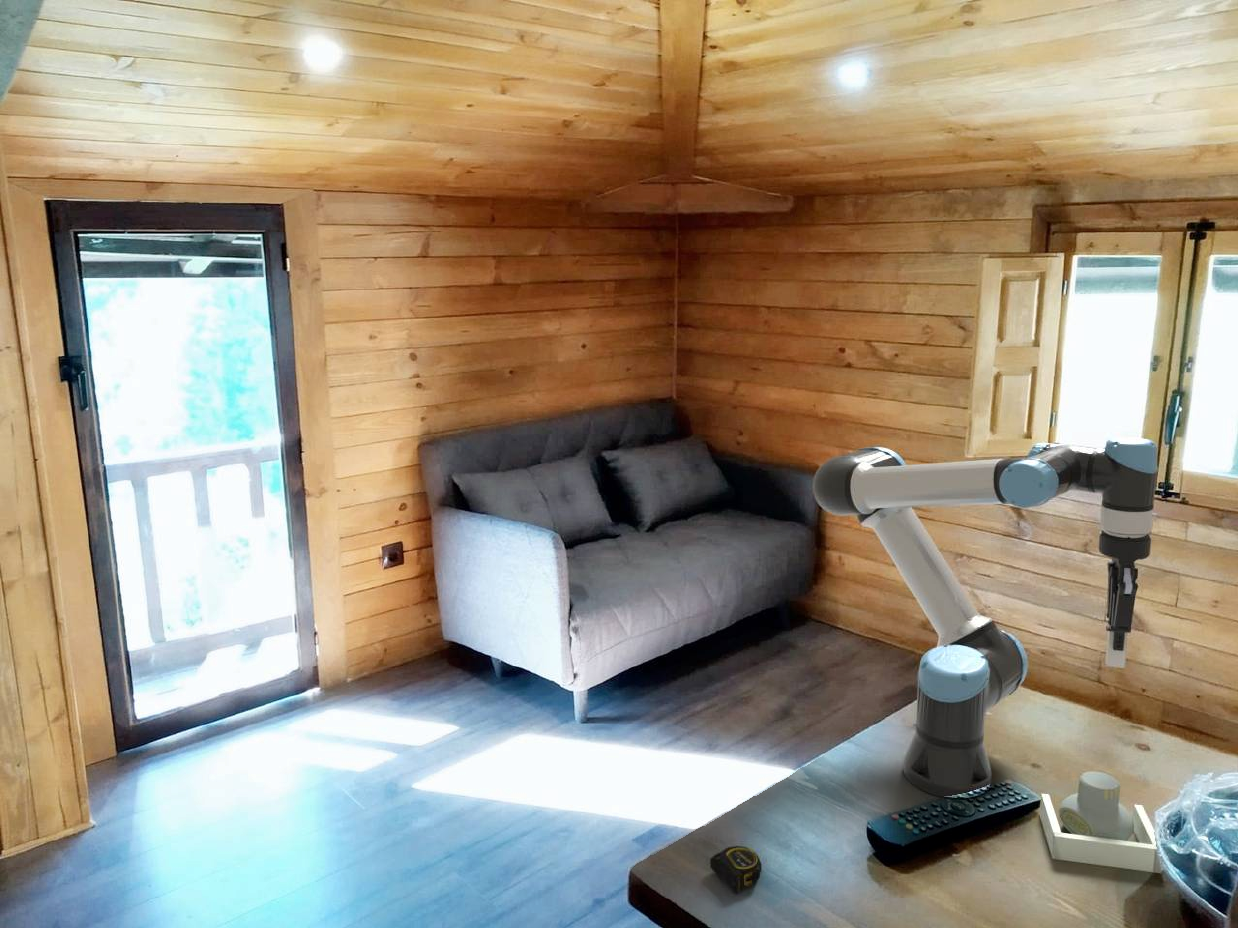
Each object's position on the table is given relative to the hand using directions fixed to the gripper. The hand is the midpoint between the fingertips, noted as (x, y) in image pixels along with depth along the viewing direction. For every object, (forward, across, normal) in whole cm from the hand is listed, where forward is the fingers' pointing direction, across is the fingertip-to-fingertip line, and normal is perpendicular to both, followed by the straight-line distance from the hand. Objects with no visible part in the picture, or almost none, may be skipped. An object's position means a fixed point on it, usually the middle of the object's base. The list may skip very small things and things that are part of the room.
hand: (1115, 665), depth 159 cm
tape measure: (+24, -42, +57) cm, 74 cm away
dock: (+25, -15, +3) cm, 29 cm away
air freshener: (+25, -13, +3) cm, 28 cm away
